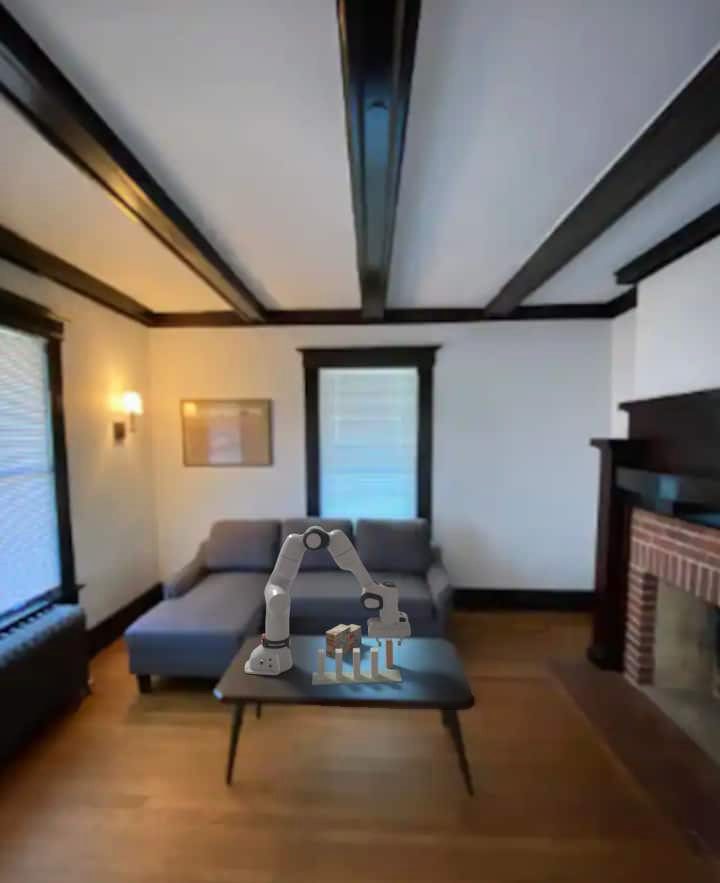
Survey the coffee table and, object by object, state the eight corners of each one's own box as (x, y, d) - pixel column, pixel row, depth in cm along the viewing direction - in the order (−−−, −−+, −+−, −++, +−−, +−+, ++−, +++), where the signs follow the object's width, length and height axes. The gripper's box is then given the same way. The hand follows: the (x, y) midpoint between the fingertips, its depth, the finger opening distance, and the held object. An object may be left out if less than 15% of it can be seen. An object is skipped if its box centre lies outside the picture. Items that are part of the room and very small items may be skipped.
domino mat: (311, 685, 210) (311, 683, 210) (312, 673, 220) (312, 672, 220) (402, 681, 212) (402, 680, 212) (399, 670, 222) (399, 669, 222)
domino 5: (386, 667, 225) (386, 642, 224) (385, 663, 229) (385, 639, 228) (392, 667, 225) (392, 642, 225) (391, 663, 229) (391, 638, 229)
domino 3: (353, 678, 214) (353, 652, 213) (353, 674, 218) (353, 648, 217) (360, 678, 214) (360, 652, 214) (359, 674, 218) (359, 648, 218)
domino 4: (371, 678, 214) (371, 651, 214) (370, 673, 218) (370, 647, 218) (378, 677, 214) (377, 651, 214) (377, 673, 218) (377, 647, 218)
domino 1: (317, 680, 213) (317, 653, 213) (318, 675, 217) (317, 649, 217) (324, 679, 213) (324, 653, 213) (324, 675, 217) (324, 649, 217)
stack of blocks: (352, 640, 254) (352, 618, 254) (361, 644, 251) (361, 620, 250) (325, 656, 237) (325, 631, 237) (335, 659, 234) (335, 634, 233)
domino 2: (335, 679, 213) (335, 652, 213) (335, 675, 217) (335, 648, 217) (342, 679, 213) (342, 652, 213) (342, 674, 217) (342, 648, 217)
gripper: (367, 620, 223) (368, 649, 223) (411, 618, 224) (411, 647, 224) (366, 615, 229) (367, 643, 229) (409, 613, 230) (409, 641, 230)
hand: (389, 645), depth 227 cm, fingers open, 8 cm apart
